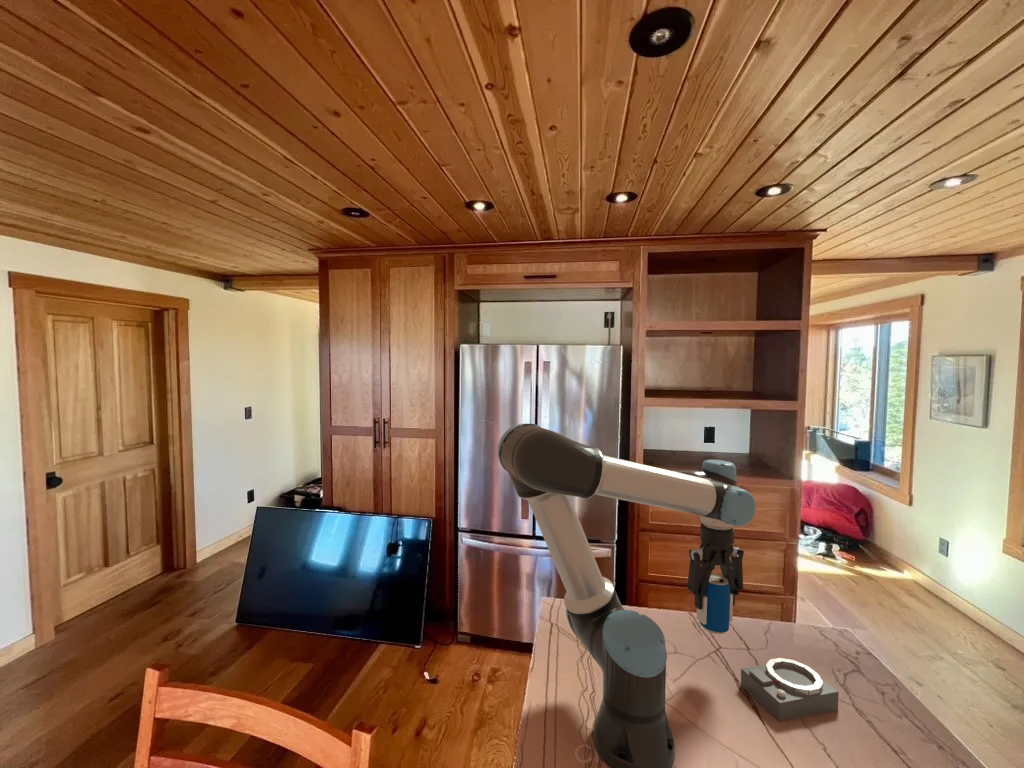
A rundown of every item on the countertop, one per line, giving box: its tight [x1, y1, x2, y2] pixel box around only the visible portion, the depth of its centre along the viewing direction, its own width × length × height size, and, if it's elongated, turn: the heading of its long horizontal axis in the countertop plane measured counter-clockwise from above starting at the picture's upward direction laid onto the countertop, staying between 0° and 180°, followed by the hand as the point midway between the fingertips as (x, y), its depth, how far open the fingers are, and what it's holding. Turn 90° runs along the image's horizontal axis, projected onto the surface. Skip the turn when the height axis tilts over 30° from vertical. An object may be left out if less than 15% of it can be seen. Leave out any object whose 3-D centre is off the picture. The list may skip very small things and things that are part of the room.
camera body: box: [740, 659, 839, 723], centre depth 98 cm, size 15×11×5 cm
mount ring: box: [765, 657, 823, 696], centre depth 98 cm, size 10×10×1 cm
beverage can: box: [699, 573, 730, 635], centre depth 106 cm, size 6×6×12 cm
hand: (714, 619), depth 106 cm, fingers closed on beverage can, 6 cm apart
